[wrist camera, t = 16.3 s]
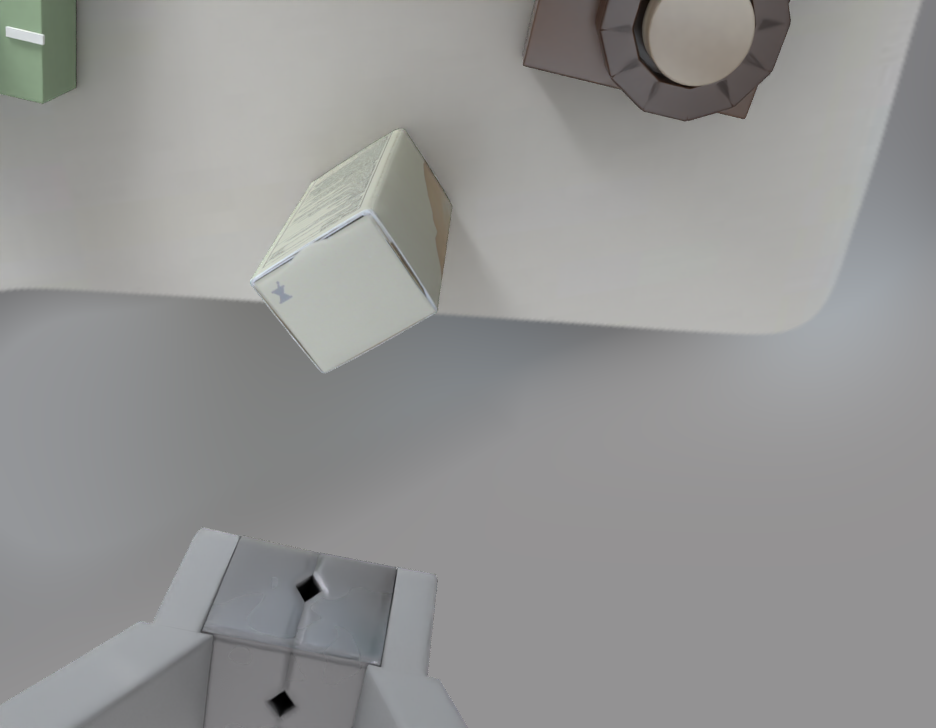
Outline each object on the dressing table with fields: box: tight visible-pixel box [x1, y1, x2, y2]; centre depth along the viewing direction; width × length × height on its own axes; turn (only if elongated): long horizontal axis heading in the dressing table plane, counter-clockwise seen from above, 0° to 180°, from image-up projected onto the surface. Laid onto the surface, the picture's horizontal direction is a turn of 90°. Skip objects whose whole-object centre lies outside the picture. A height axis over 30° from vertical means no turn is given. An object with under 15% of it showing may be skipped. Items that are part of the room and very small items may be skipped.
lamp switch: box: [642, 0, 755, 86], centre depth 31 cm, size 4×4×2 cm
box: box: [250, 129, 452, 373], centre depth 34 cm, size 5×4×11 cm
